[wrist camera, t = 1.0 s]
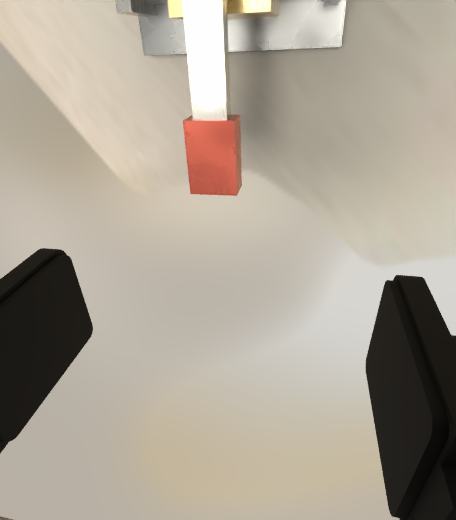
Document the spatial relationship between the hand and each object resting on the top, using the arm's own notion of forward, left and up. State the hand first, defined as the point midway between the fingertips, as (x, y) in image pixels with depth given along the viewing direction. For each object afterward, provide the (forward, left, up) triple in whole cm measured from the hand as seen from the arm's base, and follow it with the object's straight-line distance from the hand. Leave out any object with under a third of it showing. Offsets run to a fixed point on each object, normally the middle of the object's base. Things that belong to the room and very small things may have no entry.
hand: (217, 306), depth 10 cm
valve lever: (-5, -3, -15) cm, 16 cm away
